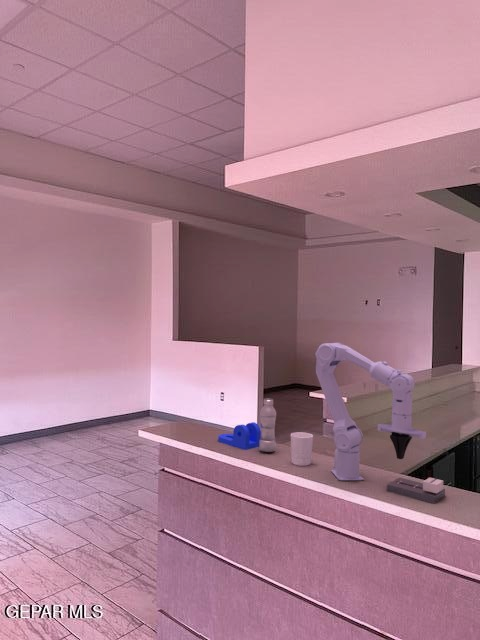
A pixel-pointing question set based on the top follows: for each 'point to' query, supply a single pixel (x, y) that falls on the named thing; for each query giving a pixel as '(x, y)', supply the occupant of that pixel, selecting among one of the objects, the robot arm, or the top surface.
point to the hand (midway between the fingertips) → (400, 458)
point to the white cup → (301, 448)
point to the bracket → (242, 436)
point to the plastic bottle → (267, 427)
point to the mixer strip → (414, 490)
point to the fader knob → (433, 485)
